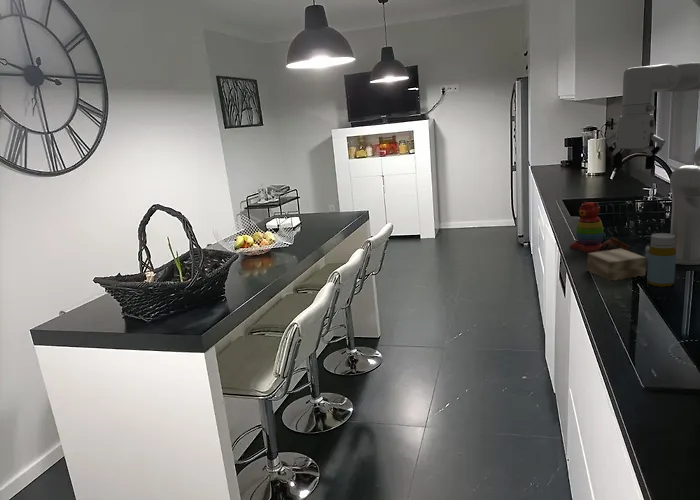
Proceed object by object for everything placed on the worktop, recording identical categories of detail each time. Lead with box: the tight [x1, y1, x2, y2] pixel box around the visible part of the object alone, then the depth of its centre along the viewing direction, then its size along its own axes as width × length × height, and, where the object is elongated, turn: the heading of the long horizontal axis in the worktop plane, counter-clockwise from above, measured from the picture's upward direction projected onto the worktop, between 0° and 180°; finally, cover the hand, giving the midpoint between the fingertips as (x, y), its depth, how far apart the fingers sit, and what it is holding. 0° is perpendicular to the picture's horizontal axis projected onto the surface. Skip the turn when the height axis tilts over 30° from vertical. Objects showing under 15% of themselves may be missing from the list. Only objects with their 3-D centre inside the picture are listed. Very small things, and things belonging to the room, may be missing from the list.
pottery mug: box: [599, 236, 632, 251], centre depth 185 cm, size 12×10×8 cm
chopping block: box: [586, 248, 647, 281], centre depth 170 cm, size 12×12×6 cm
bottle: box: [646, 232, 676, 288], centre depth 156 cm, size 7×7×15 cm
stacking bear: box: [569, 201, 604, 254], centre depth 198 cm, size 11×10×18 cm
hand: (633, 168), depth 160 cm, fingers open, 9 cm apart
